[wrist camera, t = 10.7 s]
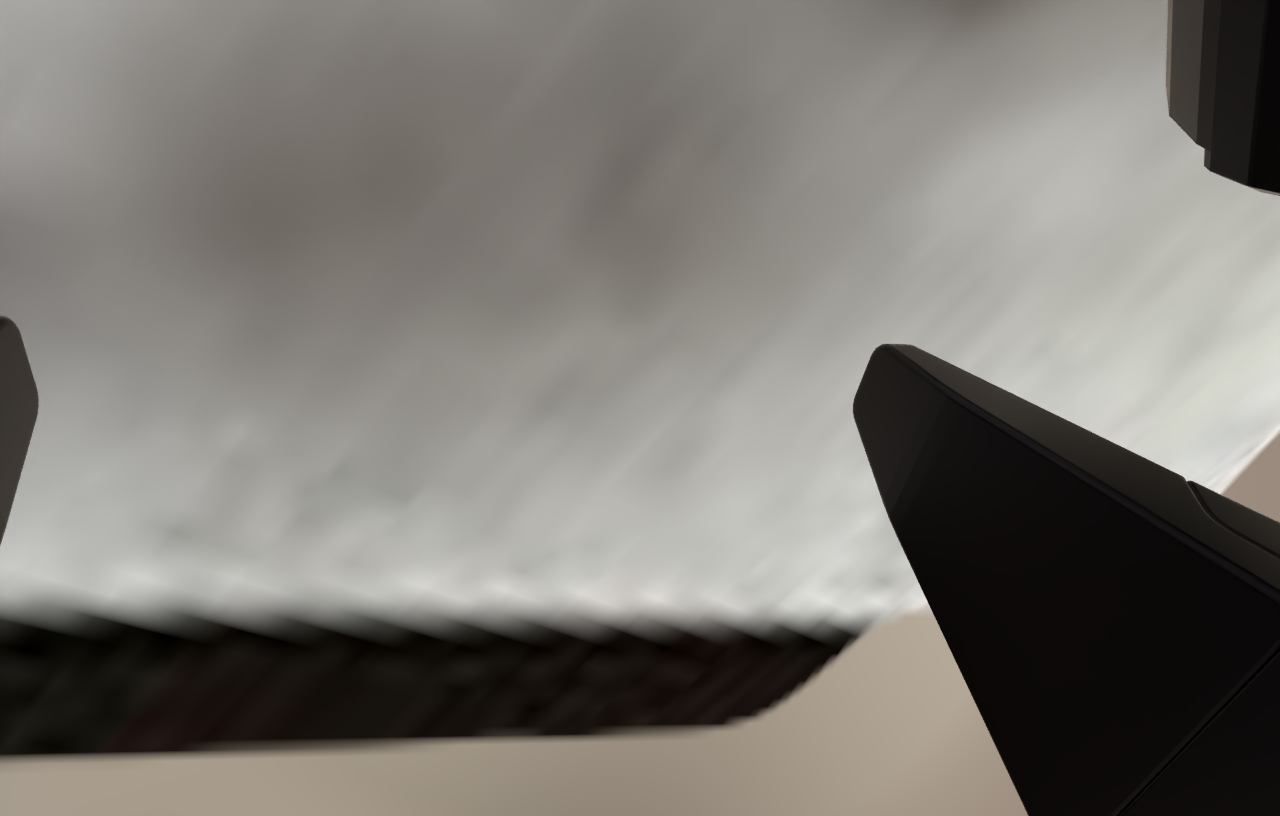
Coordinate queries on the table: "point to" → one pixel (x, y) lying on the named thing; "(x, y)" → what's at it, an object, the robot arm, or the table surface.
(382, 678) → the table surface
